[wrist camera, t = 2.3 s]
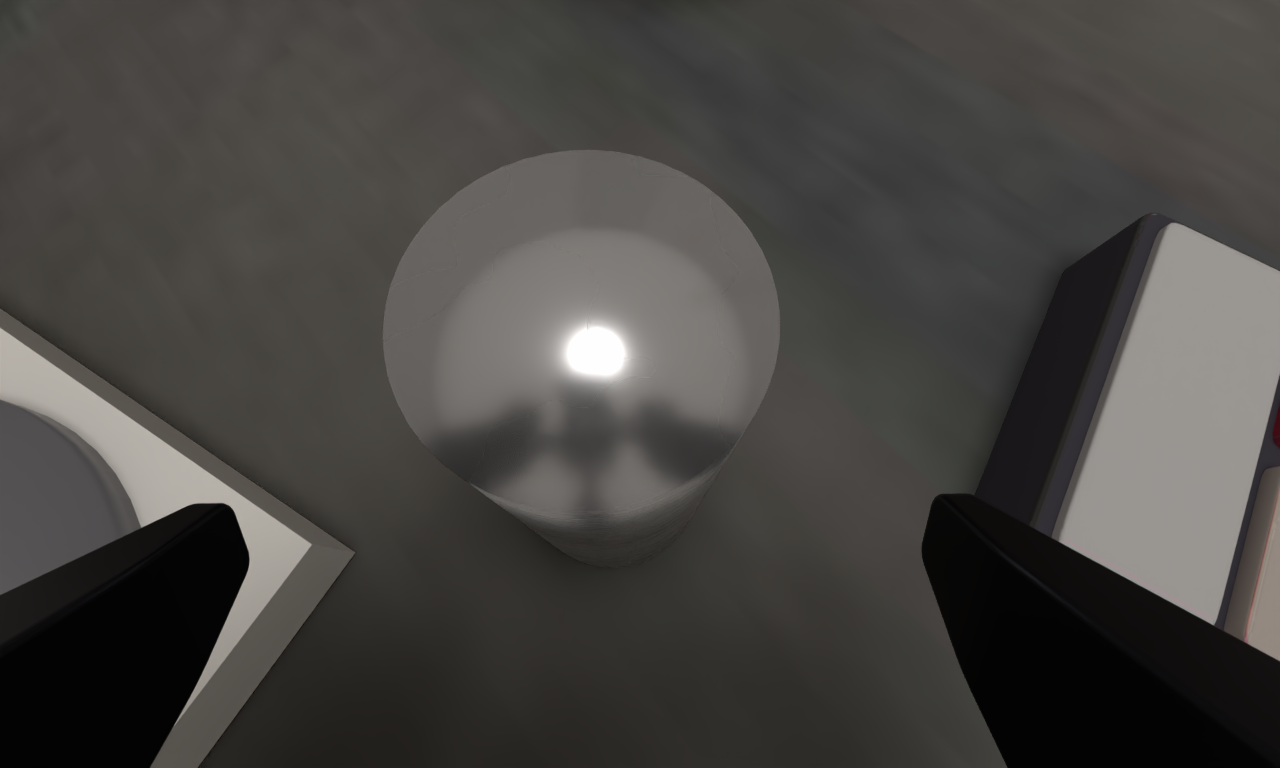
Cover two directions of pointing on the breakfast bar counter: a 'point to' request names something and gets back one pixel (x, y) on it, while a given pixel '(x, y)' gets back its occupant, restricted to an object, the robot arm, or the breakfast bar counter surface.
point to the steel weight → (584, 345)
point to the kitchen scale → (145, 516)
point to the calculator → (1157, 424)
